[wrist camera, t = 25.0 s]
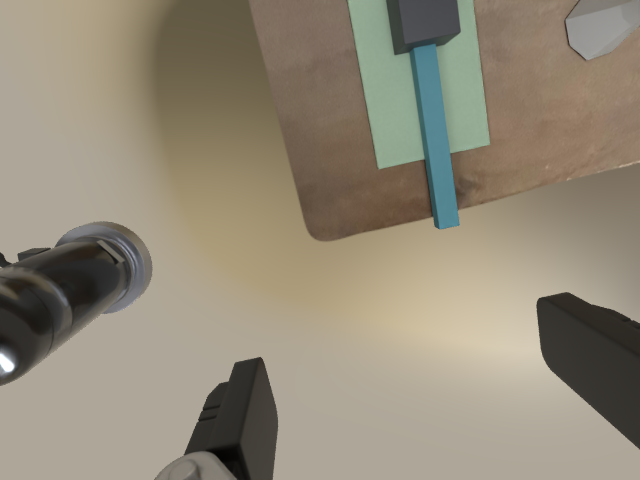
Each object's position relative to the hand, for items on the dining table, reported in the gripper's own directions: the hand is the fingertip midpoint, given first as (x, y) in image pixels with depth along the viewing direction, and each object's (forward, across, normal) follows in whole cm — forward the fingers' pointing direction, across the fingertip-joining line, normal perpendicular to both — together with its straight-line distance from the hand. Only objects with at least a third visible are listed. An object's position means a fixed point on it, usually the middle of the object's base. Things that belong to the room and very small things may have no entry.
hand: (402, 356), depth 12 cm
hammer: (+39, -14, -8) cm, 43 cm away
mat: (+40, -14, -13) cm, 44 cm away
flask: (+40, -35, -13) cm, 55 cm away
